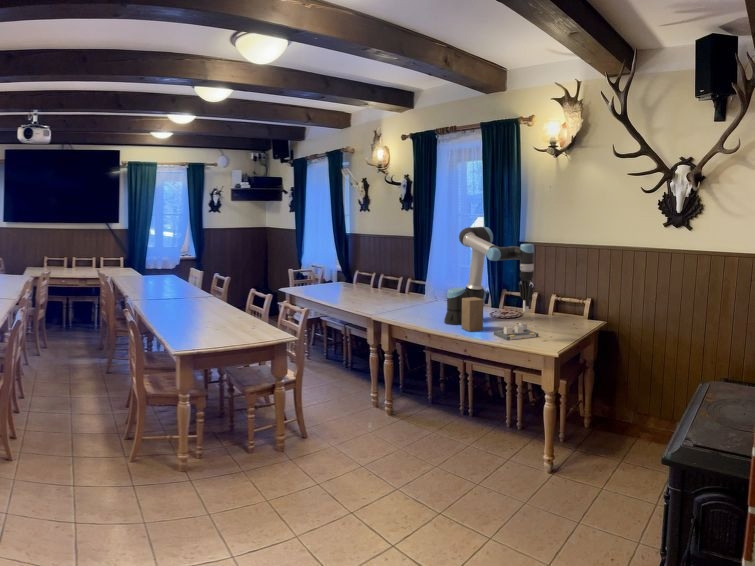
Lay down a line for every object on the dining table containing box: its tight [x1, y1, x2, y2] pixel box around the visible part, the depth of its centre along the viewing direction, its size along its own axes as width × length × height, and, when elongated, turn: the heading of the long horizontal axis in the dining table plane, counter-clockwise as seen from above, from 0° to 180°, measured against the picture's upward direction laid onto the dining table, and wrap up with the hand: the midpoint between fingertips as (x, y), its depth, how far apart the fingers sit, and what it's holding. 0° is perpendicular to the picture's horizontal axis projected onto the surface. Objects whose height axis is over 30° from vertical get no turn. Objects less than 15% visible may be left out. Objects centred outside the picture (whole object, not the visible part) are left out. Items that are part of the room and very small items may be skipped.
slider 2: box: [514, 325, 523, 334], centre depth 305 cm, size 3×4×4 cm
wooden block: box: [461, 297, 484, 333], centre depth 324 cm, size 10×10×20 cm
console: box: [493, 328, 539, 341], centre depth 309 cm, size 14×22×2 cm, turn 110°
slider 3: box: [518, 322, 528, 330], centre depth 313 cm, size 3×4×4 cm
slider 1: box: [503, 325, 514, 335], centre depth 304 cm, size 3×4×4 cm
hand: (525, 311), depth 297 cm, fingers closed
